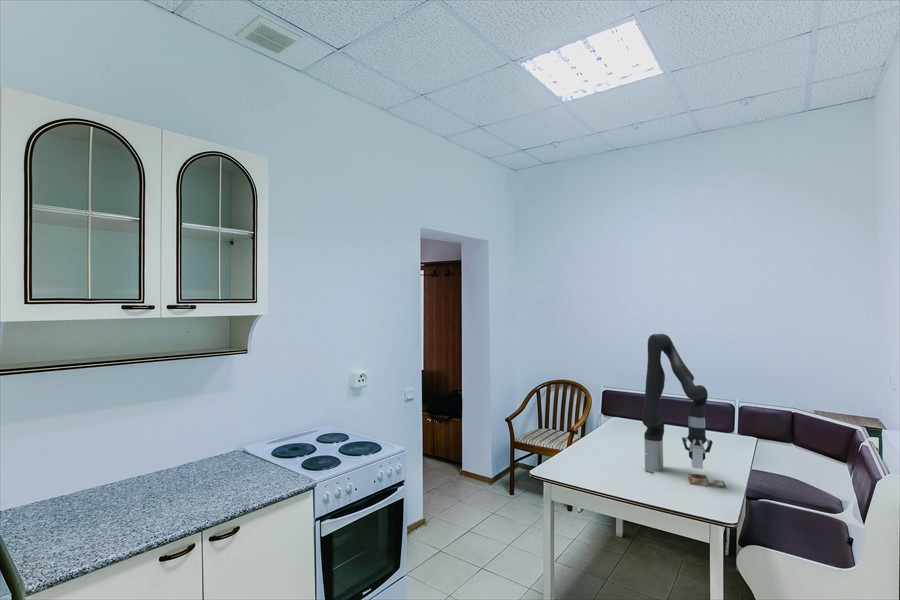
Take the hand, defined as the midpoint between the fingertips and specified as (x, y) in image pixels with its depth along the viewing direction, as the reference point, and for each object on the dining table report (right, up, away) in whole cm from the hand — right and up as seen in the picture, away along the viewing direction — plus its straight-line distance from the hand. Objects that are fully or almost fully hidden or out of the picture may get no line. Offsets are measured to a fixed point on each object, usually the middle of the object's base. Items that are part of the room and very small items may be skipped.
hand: (697, 459), depth 224 cm
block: (0, -4, 0) cm, 4 cm away
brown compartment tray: (+5, -13, -1) cm, 13 cm away
